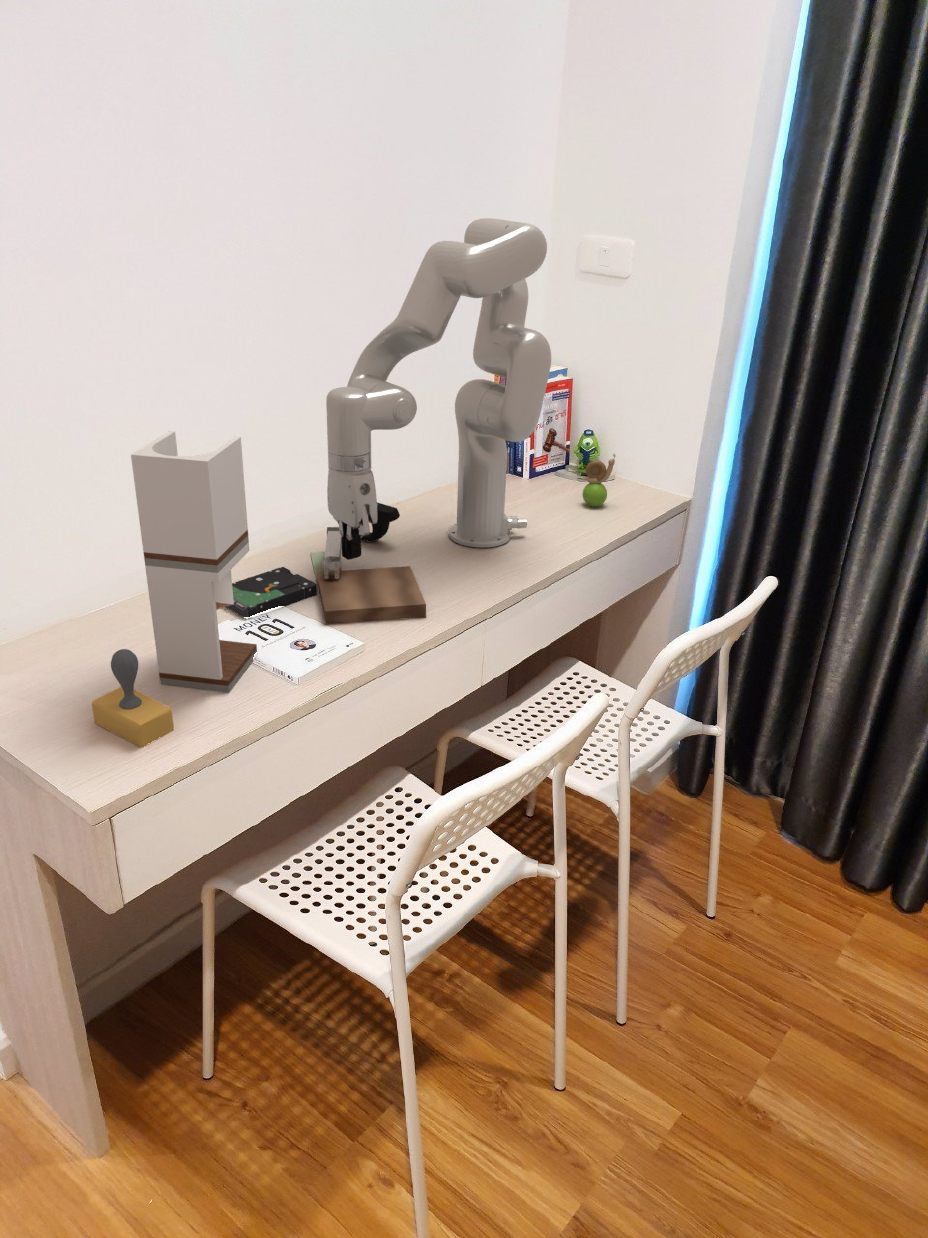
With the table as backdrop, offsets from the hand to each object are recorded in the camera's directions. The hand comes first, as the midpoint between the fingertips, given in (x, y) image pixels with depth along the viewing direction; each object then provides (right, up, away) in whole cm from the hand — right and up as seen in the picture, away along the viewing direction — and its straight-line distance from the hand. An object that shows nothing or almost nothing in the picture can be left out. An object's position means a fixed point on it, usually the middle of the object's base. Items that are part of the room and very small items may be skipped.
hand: (351, 556), depth 178 cm
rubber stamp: (-25, -26, -45) cm, 58 cm away
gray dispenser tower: (-18, -19, -31) cm, 40 cm away
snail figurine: (+50, +14, +39) cm, 65 cm away
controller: (+2, +4, +17) cm, 17 cm away
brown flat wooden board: (+3, -5, -2) cm, 6 cm away
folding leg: (-3, 0, 0) cm, 3 cm away
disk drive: (-14, -8, -8) cm, 18 cm away
